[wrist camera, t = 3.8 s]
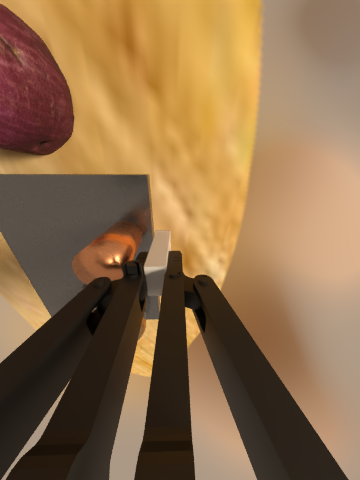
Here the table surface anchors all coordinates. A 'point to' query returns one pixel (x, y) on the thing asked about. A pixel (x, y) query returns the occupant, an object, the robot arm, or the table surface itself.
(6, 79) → the vegetable
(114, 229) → the lever
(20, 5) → the table surface
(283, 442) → the robot arm
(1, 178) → the base
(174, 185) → the table surface
